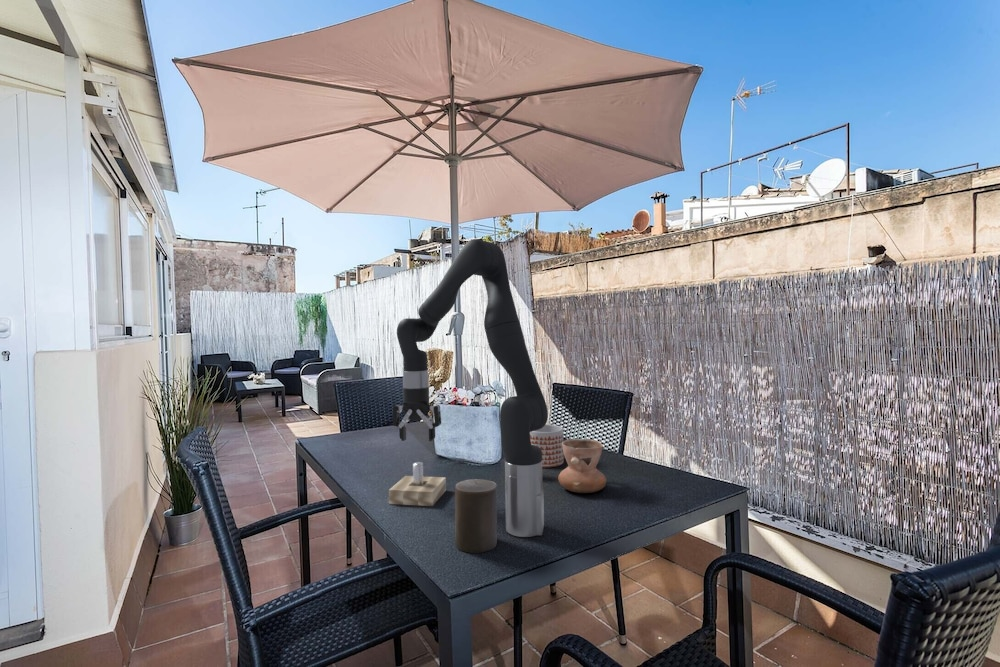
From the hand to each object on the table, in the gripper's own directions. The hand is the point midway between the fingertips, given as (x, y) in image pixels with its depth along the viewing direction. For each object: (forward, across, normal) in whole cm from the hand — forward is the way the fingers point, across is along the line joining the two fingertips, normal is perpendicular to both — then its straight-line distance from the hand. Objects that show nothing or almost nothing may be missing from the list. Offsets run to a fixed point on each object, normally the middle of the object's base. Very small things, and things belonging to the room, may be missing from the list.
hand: (417, 440), depth 142 cm
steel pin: (+17, 0, 0) cm, 17 cm away
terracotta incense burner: (+18, -48, -14) cm, 53 cm away
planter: (+17, -34, -40) cm, 55 cm away
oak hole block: (+17, 0, 0) cm, 17 cm away
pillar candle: (+18, -24, +27) cm, 40 cm away
